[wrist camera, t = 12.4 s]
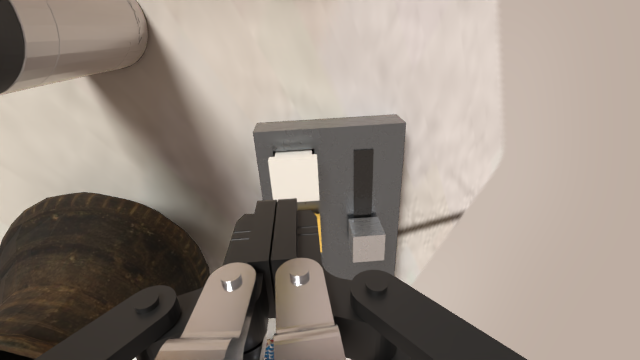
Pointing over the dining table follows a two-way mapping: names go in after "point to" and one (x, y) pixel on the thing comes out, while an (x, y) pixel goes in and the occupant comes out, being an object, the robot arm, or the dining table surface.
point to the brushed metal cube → (366, 239)
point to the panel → (344, 179)
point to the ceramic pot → (85, 266)
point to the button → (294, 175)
